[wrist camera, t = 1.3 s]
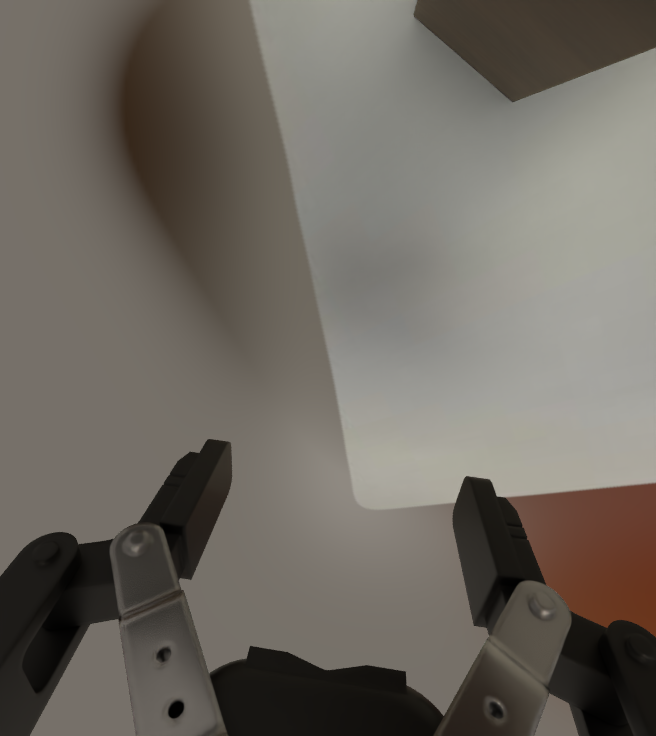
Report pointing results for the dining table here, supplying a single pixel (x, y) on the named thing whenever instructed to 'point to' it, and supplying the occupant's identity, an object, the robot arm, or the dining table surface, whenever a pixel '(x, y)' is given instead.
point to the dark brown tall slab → (540, 37)
